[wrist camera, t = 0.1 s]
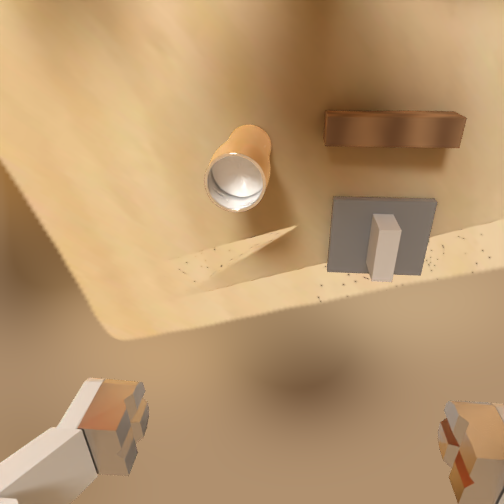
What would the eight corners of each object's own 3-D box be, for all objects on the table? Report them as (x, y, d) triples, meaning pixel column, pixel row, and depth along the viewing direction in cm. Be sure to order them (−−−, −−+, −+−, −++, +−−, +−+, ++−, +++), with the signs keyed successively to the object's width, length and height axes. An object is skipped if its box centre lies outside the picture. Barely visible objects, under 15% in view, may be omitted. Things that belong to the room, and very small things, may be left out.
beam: (323, 137, 54) (325, 145, 50) (325, 110, 52) (327, 116, 48) (447, 139, 52) (459, 148, 48) (453, 111, 51) (466, 118, 47)
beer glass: (263, 178, 57) (253, 223, 44) (217, 159, 56) (193, 199, 43) (282, 133, 54) (278, 167, 41) (234, 112, 53) (214, 139, 40)
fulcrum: (333, 196, 57) (337, 214, 52) (434, 198, 56) (449, 217, 50) (327, 267, 63) (329, 291, 58) (418, 271, 62) (430, 295, 56)
